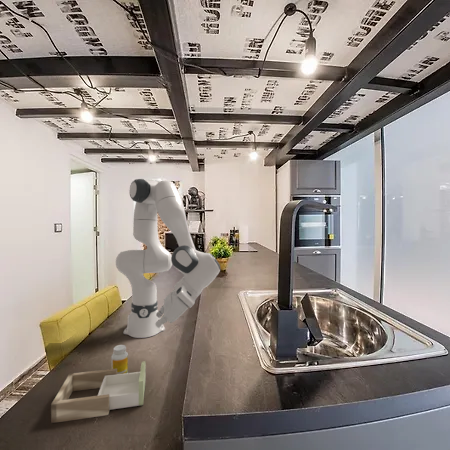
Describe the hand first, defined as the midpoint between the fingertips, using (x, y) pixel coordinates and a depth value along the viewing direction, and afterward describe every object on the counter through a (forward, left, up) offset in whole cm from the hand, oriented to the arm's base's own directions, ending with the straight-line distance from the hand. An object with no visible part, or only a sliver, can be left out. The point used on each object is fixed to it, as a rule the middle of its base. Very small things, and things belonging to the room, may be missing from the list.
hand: (157, 320), depth 93 cm
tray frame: (+12, -19, -18) cm, 29 cm away
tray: (+12, -10, -18) cm, 24 cm away
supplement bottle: (0, -12, -18) cm, 22 cm away
